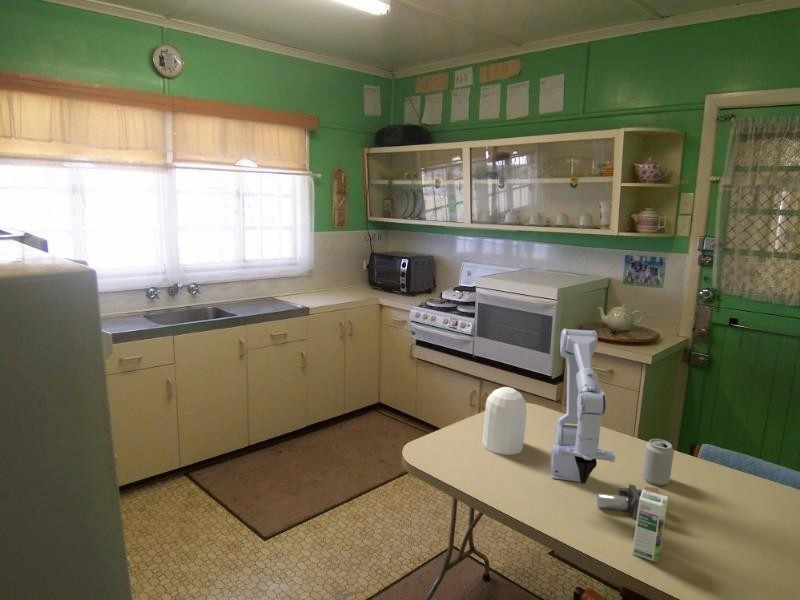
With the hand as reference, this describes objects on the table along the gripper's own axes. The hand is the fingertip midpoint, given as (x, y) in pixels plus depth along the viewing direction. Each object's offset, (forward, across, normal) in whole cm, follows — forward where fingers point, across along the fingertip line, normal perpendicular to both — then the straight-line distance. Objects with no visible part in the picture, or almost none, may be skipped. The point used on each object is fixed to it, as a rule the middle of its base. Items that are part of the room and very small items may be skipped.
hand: (582, 482), depth 146 cm
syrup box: (+7, +13, -17) cm, 22 cm away
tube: (+7, +10, 0) cm, 13 cm away
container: (+7, -21, +30) cm, 38 cm away
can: (+7, +24, +19) cm, 31 cm away
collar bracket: (+7, +16, +2) cm, 17 cm away
